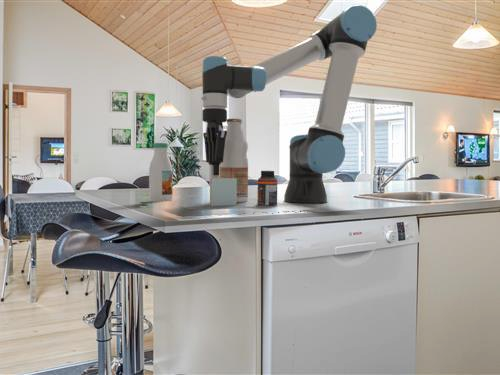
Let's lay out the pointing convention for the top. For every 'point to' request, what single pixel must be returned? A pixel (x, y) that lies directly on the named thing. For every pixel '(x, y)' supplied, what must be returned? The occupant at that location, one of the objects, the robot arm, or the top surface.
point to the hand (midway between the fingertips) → (214, 185)
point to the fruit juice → (236, 158)
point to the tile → (223, 191)
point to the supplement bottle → (267, 189)
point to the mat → (213, 207)
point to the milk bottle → (160, 175)
